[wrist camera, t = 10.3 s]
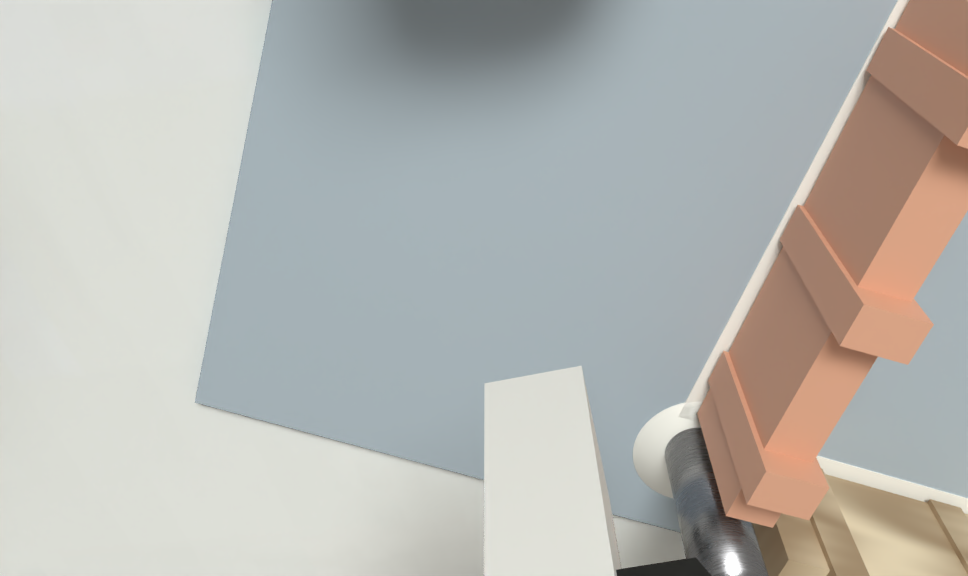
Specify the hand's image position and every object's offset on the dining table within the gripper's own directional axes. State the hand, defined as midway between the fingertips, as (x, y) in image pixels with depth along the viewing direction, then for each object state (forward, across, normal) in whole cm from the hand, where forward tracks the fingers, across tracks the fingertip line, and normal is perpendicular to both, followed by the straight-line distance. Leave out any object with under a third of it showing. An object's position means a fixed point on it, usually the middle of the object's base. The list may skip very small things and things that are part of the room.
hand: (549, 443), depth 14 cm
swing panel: (+9, +7, -2) cm, 11 cm away
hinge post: (+9, +3, -9) cm, 13 cm away
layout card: (+9, +6, -4) cm, 12 cm away
